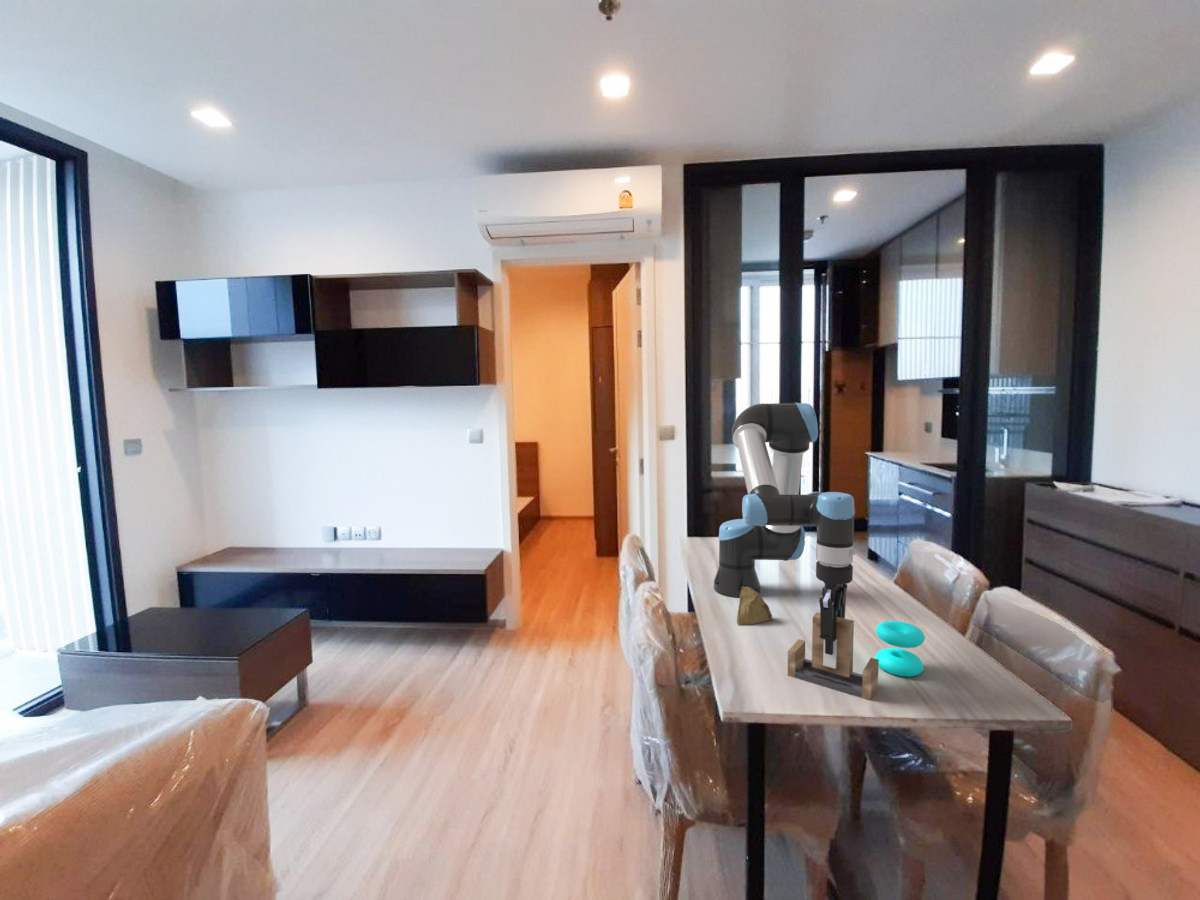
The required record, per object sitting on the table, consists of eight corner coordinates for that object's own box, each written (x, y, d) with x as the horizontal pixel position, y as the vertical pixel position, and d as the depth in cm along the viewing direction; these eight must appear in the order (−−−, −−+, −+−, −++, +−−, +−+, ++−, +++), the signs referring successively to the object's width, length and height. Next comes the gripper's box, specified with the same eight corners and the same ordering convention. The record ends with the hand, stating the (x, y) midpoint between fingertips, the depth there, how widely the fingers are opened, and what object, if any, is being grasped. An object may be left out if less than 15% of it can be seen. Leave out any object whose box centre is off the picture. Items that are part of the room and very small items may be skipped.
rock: (773, 606, 161) (739, 599, 164) (777, 591, 155) (741, 583, 158) (770, 639, 154) (734, 631, 157) (773, 624, 148) (736, 615, 151)
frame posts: (787, 675, 126) (787, 650, 125) (798, 662, 132) (798, 639, 131) (870, 700, 115) (871, 673, 114) (877, 685, 121) (878, 659, 120)
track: (794, 677, 125) (794, 671, 125) (804, 664, 131) (805, 658, 131) (862, 697, 116) (862, 691, 116) (870, 683, 122) (870, 676, 122)
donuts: (870, 617, 133) (914, 620, 131) (869, 656, 134) (913, 659, 132) (884, 635, 123) (932, 638, 122) (883, 677, 124) (930, 680, 122)
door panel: (811, 667, 124) (812, 616, 123) (816, 661, 127) (817, 612, 126) (848, 677, 119) (850, 625, 118) (852, 671, 122) (854, 620, 121)
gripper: (842, 575, 112) (839, 683, 114) (861, 556, 125) (858, 654, 127) (805, 568, 117) (803, 672, 119) (827, 551, 129) (825, 645, 132)
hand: (832, 662), depth 123 cm, fingers closed on door panel, 3 cm apart
